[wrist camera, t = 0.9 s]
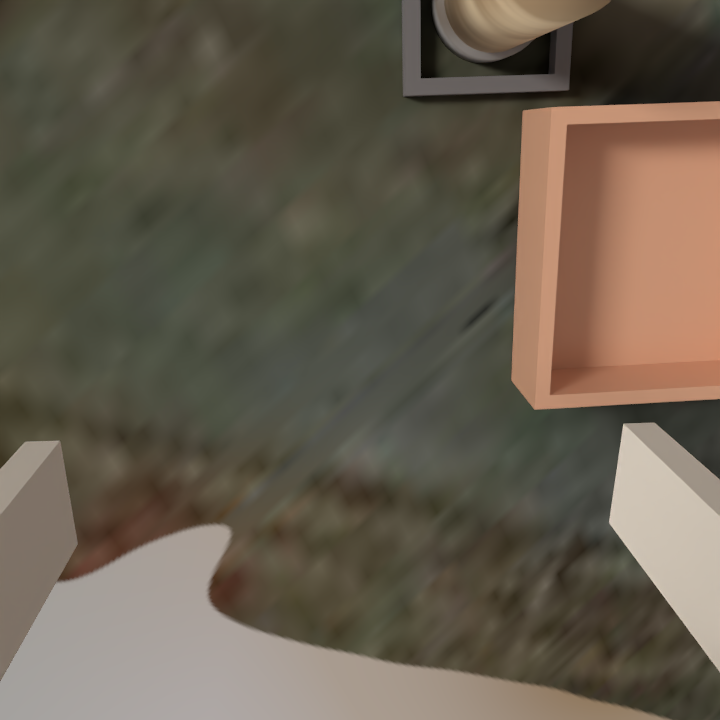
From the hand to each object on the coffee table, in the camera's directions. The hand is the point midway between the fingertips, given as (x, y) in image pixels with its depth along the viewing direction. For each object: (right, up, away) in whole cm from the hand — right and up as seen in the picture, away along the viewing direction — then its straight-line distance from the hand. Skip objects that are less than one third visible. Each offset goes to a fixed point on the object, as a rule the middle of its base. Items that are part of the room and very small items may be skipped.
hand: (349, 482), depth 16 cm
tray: (+17, +9, +23) cm, 30 cm away
